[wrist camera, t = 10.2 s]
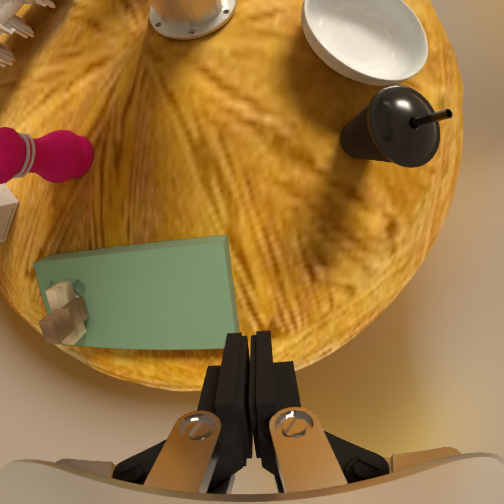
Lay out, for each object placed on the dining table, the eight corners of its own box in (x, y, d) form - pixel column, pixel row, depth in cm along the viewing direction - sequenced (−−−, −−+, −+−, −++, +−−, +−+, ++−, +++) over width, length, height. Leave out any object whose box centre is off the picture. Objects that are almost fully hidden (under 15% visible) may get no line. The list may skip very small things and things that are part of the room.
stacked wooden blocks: (61, 281, 34) (27, 302, 26) (78, 280, 34) (44, 302, 26) (76, 331, 36) (48, 358, 28) (93, 331, 36) (66, 361, 28)
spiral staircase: (98, -16, 29) (16, 82, 33) (49, -40, 19) (-26, 53, 23) (85, -56, 14) (-28, 78, 18) (27, -76, 4) (-71, 45, 8)
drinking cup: (371, 179, 35) (470, 187, 15) (321, 153, 34) (390, 130, 15) (390, 130, 33) (490, 103, 14) (341, 103, 32) (416, 43, 13)
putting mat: (49, 255, 38) (33, 262, 34) (227, 234, 37) (223, 242, 33) (71, 331, 42) (58, 343, 37) (239, 330, 40) (237, 347, 36)
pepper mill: (104, 143, 34) (-1, 130, 15) (84, 189, 36) (-20, 207, 16) (71, 126, 33) (-29, 111, 14) (54, 170, 35) (-47, 178, 15)
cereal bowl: (415, 100, 32) (442, 89, 25) (305, 94, 32) (316, 76, 25) (390, 7, 27) (408, -13, 20) (287, -3, 28) (292, -30, 21)
